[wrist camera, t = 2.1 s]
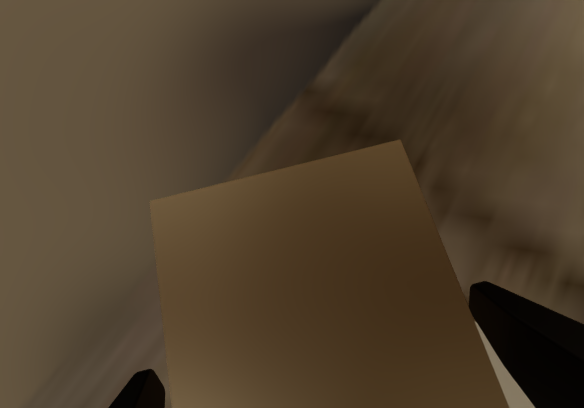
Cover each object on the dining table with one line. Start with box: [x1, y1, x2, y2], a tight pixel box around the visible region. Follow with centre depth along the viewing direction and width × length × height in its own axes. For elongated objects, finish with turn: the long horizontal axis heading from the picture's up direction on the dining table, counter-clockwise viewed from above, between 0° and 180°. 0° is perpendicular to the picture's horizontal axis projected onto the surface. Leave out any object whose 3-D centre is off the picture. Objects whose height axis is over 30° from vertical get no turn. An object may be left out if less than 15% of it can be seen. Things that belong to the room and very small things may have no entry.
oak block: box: [150, 139, 509, 408], centre depth 11 cm, size 4×4×13 cm
